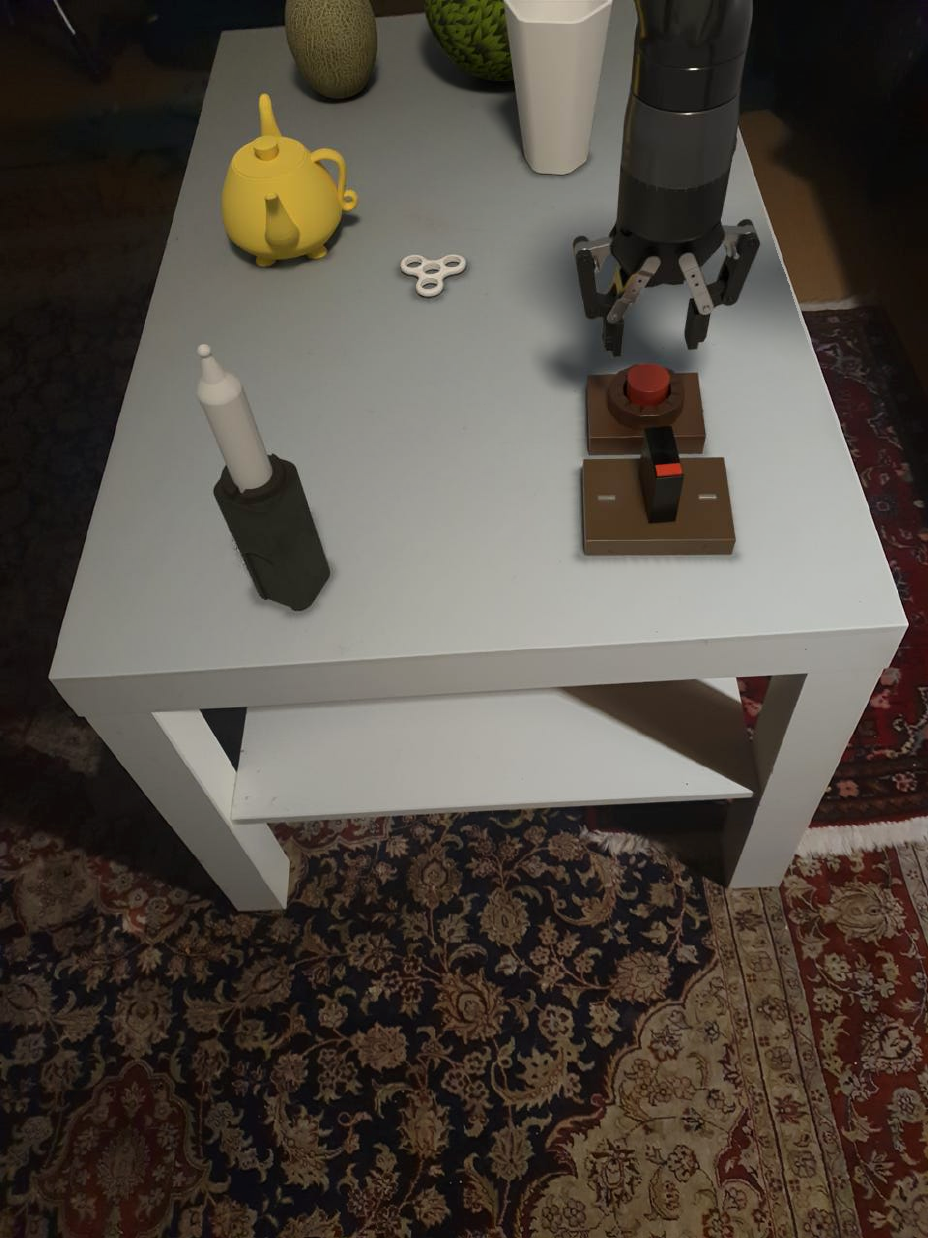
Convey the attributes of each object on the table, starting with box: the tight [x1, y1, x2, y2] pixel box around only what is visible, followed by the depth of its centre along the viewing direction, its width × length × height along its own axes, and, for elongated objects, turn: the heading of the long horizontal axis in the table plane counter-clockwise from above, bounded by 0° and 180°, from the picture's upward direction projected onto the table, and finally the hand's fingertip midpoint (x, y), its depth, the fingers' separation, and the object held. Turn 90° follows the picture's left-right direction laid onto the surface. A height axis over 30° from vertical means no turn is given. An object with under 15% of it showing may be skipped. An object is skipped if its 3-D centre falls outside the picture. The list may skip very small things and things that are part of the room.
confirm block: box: [586, 363, 707, 456], centre depth 83 cm, size 10×8×4 cm
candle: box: [196, 343, 331, 612], centre depth 67 cm, size 5×5×25 cm
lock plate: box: [581, 456, 737, 556], centre depth 77 cm, size 12×9×2 cm
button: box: [626, 362, 670, 406], centre depth 80 cm, size 4×4×2 cm
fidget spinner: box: [400, 254, 467, 298], centre depth 97 cm, size 7×6×1 cm
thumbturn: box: [639, 426, 684, 524], centre depth 74 cm, size 6×2×6 cm, turn 3°
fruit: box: [284, 0, 378, 99], centre depth 114 cm, size 11×11×15 cm
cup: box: [504, 0, 614, 176], centre depth 101 cm, size 11×10×17 cm
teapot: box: [221, 93, 359, 268], centre depth 98 cm, size 20×15×12 cm
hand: (652, 346), depth 77 cm, fingers open, 5 cm apart
